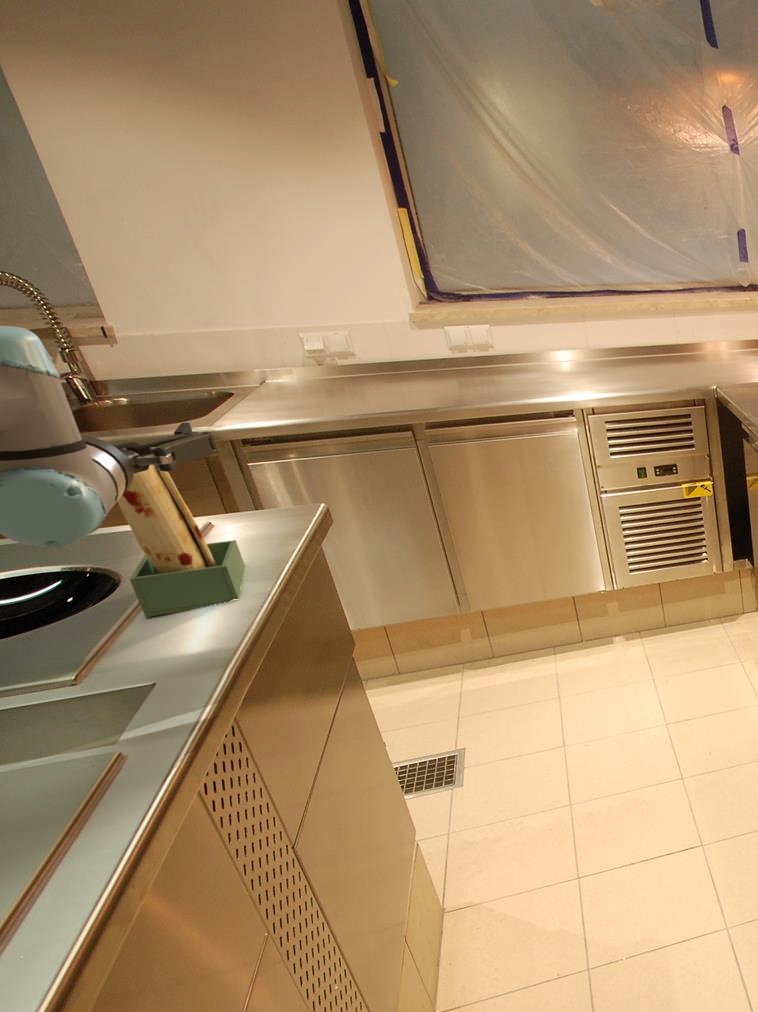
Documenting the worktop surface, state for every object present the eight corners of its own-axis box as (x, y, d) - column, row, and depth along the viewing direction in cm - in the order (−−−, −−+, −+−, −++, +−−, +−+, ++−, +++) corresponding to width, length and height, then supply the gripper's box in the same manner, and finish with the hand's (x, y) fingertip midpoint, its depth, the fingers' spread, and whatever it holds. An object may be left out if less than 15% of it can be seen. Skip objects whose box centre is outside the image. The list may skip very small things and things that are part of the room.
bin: (145, 617, 114) (129, 579, 112) (161, 586, 124) (147, 550, 122) (239, 602, 120) (226, 566, 117) (248, 574, 130) (235, 539, 127)
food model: (167, 585, 123) (94, 453, 112) (224, 571, 127) (158, 443, 116) (172, 609, 117) (94, 472, 106) (231, 594, 120) (162, 461, 110)
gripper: (-78, 527, 84) (-10, 478, 100) (239, 496, 96) (254, 457, 112) (-117, 452, 80) (-40, 414, 96) (216, 430, 93) (235, 400, 109)
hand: (118, 437), depth 104 cm, fingers open, 13 cm apart
